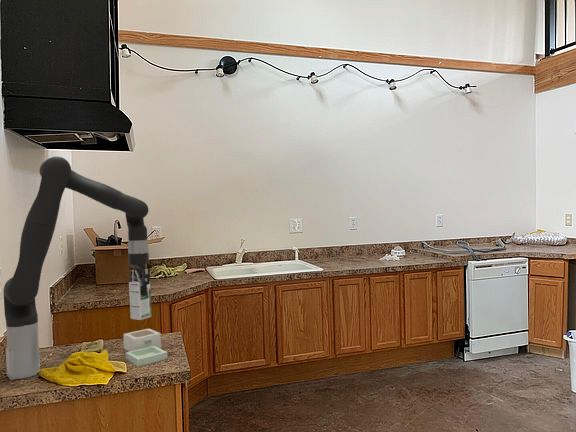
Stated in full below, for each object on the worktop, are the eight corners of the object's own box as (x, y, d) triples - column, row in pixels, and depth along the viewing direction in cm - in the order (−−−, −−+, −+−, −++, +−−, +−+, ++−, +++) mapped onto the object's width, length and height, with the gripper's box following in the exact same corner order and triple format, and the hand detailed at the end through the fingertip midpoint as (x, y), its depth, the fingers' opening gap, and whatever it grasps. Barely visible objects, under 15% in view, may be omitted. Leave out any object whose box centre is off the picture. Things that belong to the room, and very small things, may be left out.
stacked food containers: (135, 355, 167) (134, 339, 167) (123, 349, 175) (123, 333, 175) (162, 349, 174) (161, 333, 174) (149, 343, 182) (149, 328, 182)
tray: (138, 366, 155) (137, 359, 155) (125, 359, 163) (125, 352, 163) (167, 358, 162) (167, 352, 162) (154, 352, 170) (154, 345, 170)
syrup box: (140, 320, 171) (139, 282, 170) (129, 318, 174) (128, 281, 173) (151, 316, 176) (150, 280, 175) (141, 315, 179) (139, 279, 178)
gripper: (121, 251, 177) (123, 293, 177) (136, 253, 166) (138, 298, 167) (140, 250, 182) (141, 290, 182) (155, 251, 171) (157, 295, 172)
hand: (140, 294), depth 175 cm, fingers closed on syrup box, 6 cm apart
